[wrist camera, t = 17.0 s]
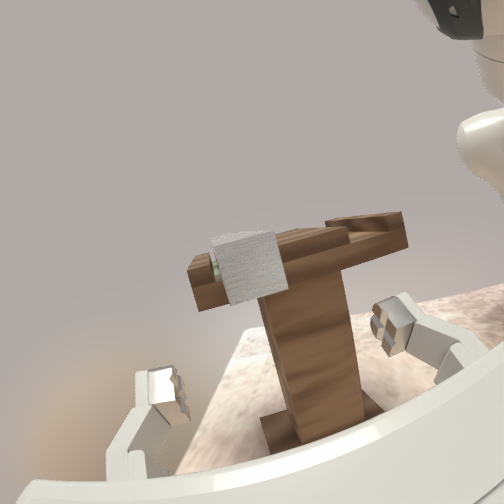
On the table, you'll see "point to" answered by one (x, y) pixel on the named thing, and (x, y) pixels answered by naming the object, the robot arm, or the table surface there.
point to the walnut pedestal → (313, 324)
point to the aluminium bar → (249, 265)
